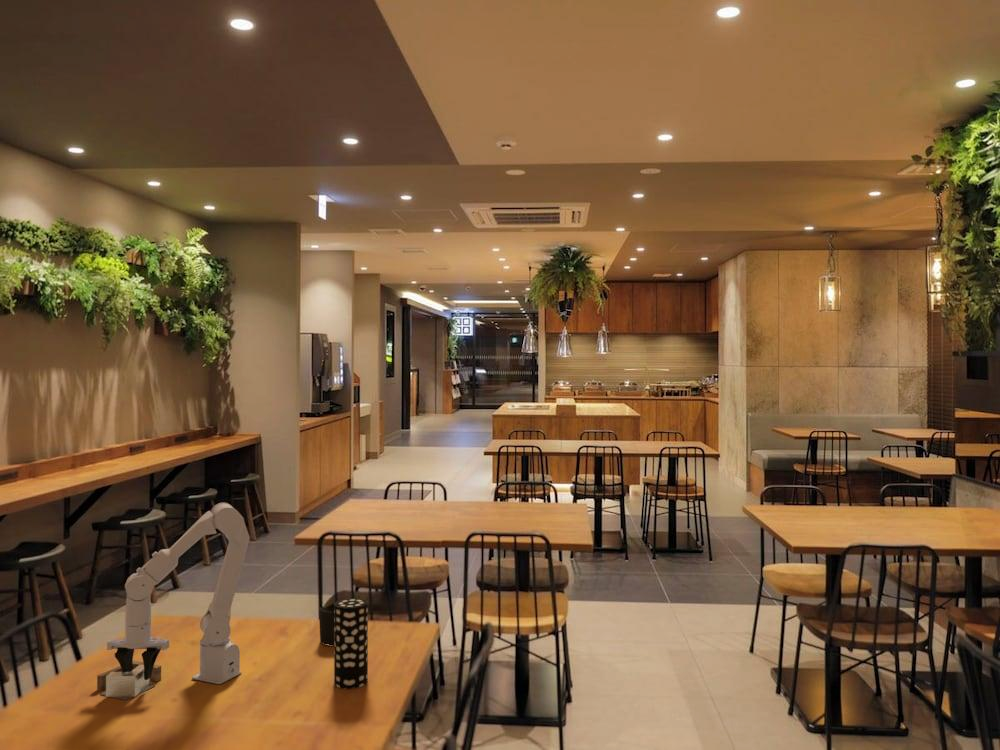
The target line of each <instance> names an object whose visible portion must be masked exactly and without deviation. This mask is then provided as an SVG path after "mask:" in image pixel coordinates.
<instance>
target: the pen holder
mask: <svg viewBox="0 0 1000 750" xmlns="http://www.w3.org/2000/svg"><path fill="white" fill-rule="evenodd" d="M334 604H335V602H332V603H331V604H328V605H326V606H325V607H321V606H320V607H318V613H319V614H318V615H319V616H318V617H319V620H318V621H319V641H320V643H321V642H322V643H324V644H329V645H334ZM322 643H321V644H322Z"/></svg>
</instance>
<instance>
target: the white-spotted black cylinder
mask: <svg viewBox="0 0 1000 750" xmlns="http://www.w3.org/2000/svg"><path fill="white" fill-rule="evenodd" d="M334 603H335V604H334V646H333V647H334V649H333V650H334V653H333V655H334V656H333V659H334V662H333V663H334V664H333V665H334V667H333V668H334V669H333V672H334V673H333V675H334V678H333V681H334V683H333V684H335V685H334V687H336V686H337V688H338V687H339V688H338V689H342V688H344V689H343V690H351V689H353V688H354V689H358V688H361V687H363V686H365V685H366V684H367V683H368V679H369V678H368V676H369V675H368V673H369V671H368V670H369V669H368V667H369V666H368V664H369V663H368V661H369V660H368V659H369V658H368V657H369V653H368V651H369V647H368V646H369V645H368V644H369V643H368V642H369V641H368V640H369V639H368V638H369V636H368V634H369V632H368V631H369V630H368V628H369V626H368V625H369V623H368V622H369V615H368V614H369V606H368V605H369V602H368V600H367V599H365V598H357V597H351V598H344V599H339V600H337V601H335V602H334Z"/></svg>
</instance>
